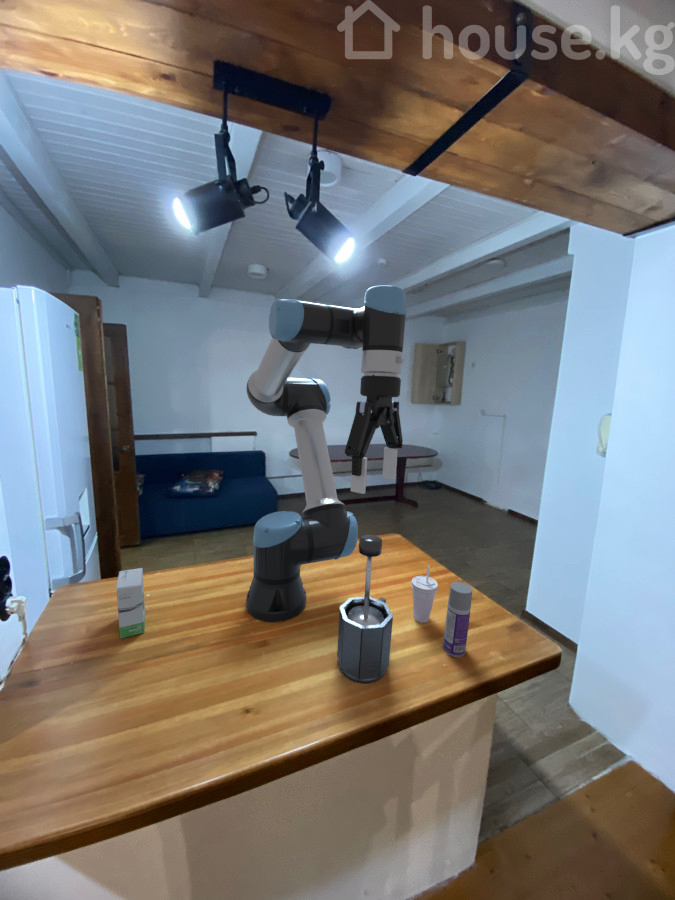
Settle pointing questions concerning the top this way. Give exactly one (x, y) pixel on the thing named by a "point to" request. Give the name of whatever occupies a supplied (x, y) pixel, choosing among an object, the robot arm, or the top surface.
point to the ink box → (131, 602)
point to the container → (457, 619)
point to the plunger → (367, 584)
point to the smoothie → (423, 596)
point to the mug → (364, 643)
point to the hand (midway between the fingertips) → (374, 484)
